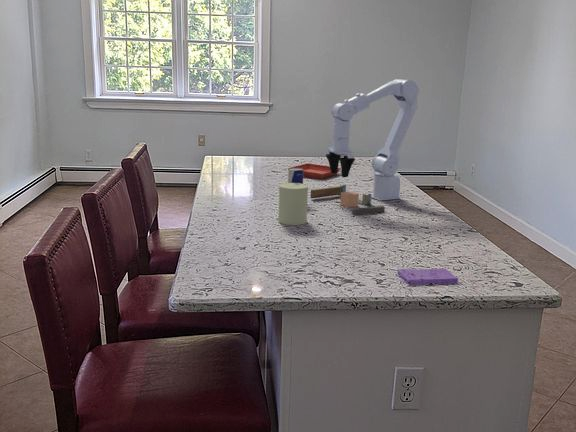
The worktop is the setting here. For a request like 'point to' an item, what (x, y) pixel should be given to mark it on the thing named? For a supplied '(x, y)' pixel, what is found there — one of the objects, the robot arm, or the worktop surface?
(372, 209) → the kerb
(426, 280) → the sponges
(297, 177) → the energy drink
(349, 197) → the block
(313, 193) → the brown long flat bar
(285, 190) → the can
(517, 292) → the worktop surface
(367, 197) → the frame
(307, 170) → the plant saucer
